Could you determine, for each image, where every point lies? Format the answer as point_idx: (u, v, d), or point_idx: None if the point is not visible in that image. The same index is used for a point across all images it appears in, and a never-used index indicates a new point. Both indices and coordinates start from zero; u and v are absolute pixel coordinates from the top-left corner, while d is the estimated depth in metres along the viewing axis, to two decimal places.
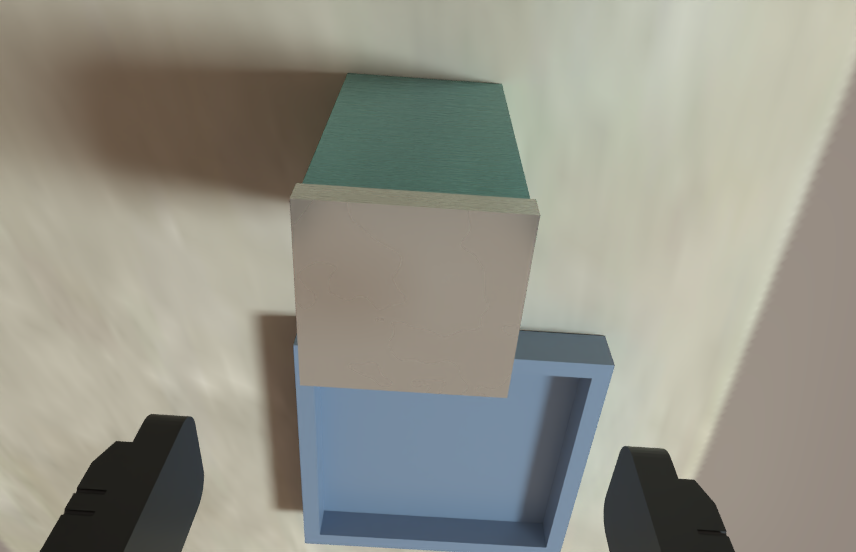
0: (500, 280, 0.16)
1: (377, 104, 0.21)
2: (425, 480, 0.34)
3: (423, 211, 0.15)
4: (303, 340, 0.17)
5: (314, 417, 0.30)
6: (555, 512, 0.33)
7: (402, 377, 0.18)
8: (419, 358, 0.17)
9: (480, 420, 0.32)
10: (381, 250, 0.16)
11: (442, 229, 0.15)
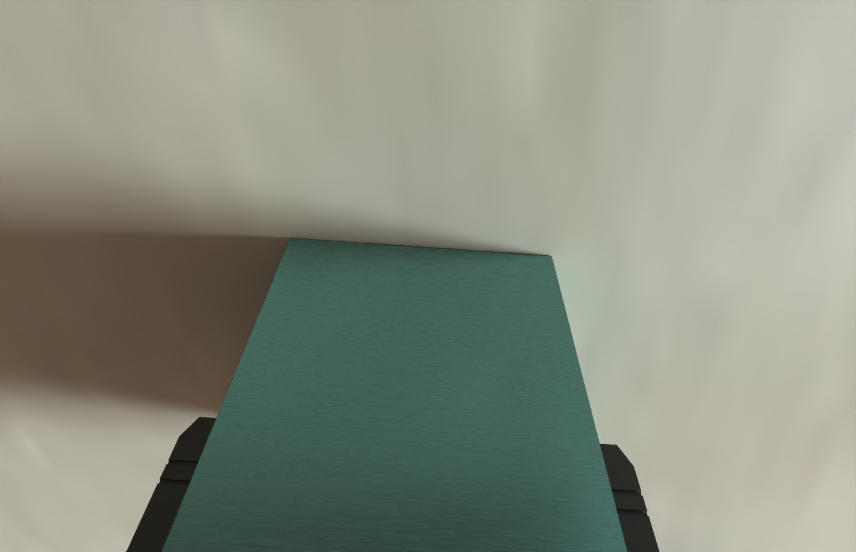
0: None
1: (330, 333, 0.11)
2: None
3: None
4: None
5: None
6: None
7: None
8: None
9: None
10: None
11: None
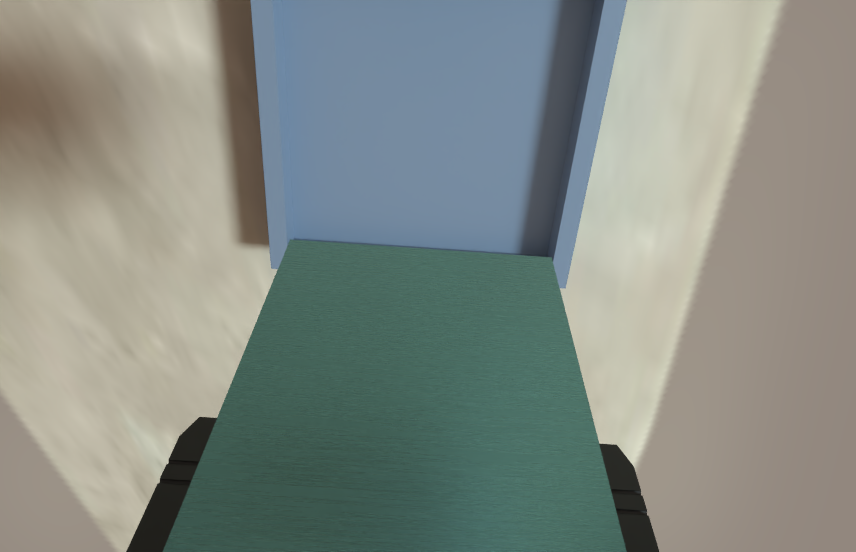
0: None
1: (330, 334, 0.11)
2: (410, 189, 0.30)
3: None
4: None
5: (275, 62, 0.25)
6: (561, 216, 0.29)
7: None
8: None
9: (474, 92, 0.27)
10: None
11: None
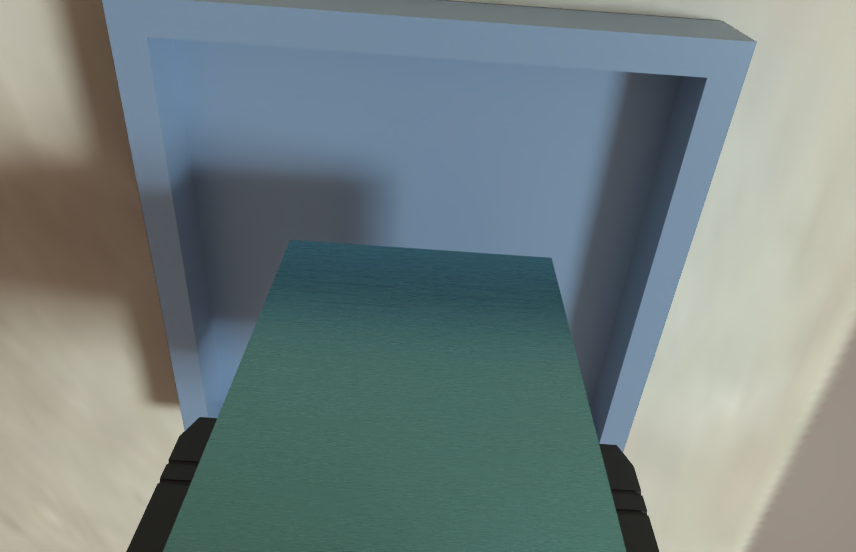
0: None
1: (330, 335, 0.11)
2: None
3: None
4: None
5: (168, 183, 0.16)
6: (614, 391, 0.19)
7: None
8: None
9: (484, 215, 0.18)
10: None
11: None
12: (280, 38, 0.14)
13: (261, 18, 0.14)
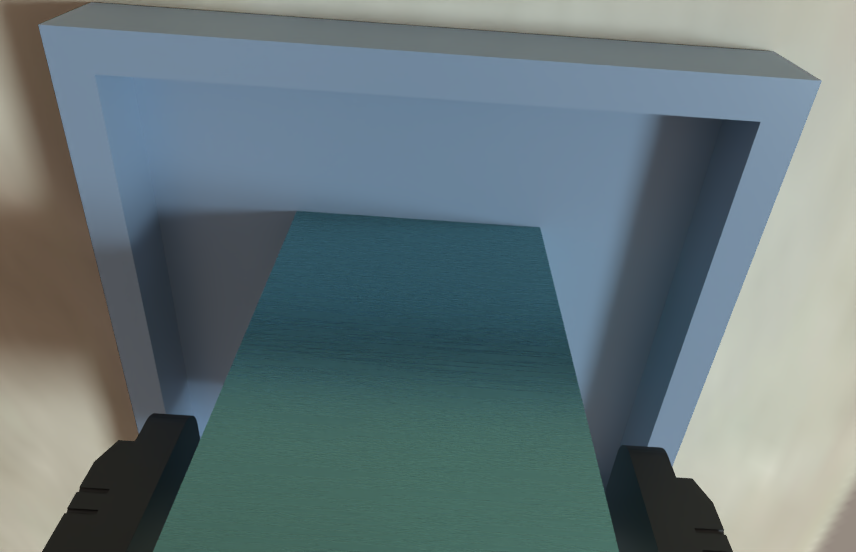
0: None
1: (334, 291, 0.12)
2: None
3: None
4: None
5: (128, 239, 0.14)
6: None
7: None
8: None
9: None
10: None
11: None
12: (253, 76, 0.12)
13: (230, 53, 0.11)
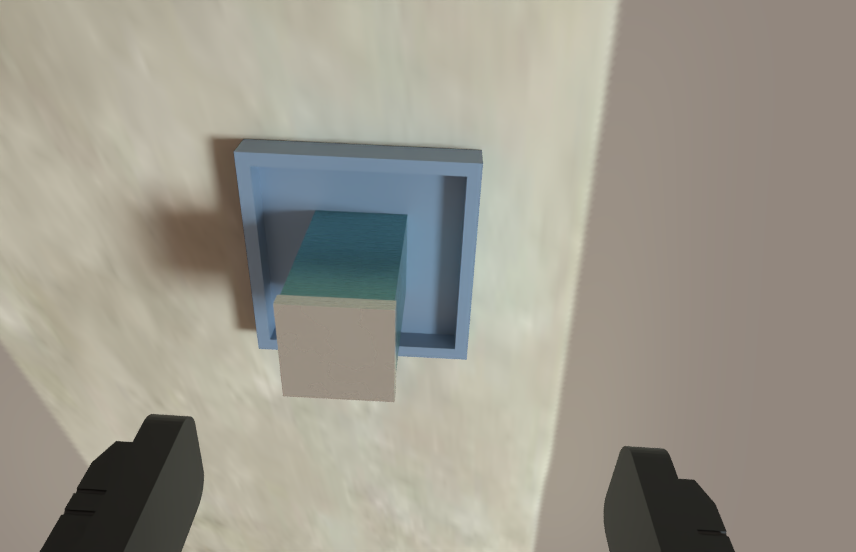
0: (381, 340, 0.32)
1: (328, 235, 0.37)
2: None
3: (338, 309, 0.31)
4: (283, 372, 0.33)
5: (255, 220, 0.38)
6: (457, 312, 0.41)
7: (337, 391, 0.33)
8: (344, 381, 0.33)
9: None
10: (319, 327, 0.31)
11: (348, 317, 0.31)
12: (301, 165, 0.36)
13: (293, 159, 0.36)
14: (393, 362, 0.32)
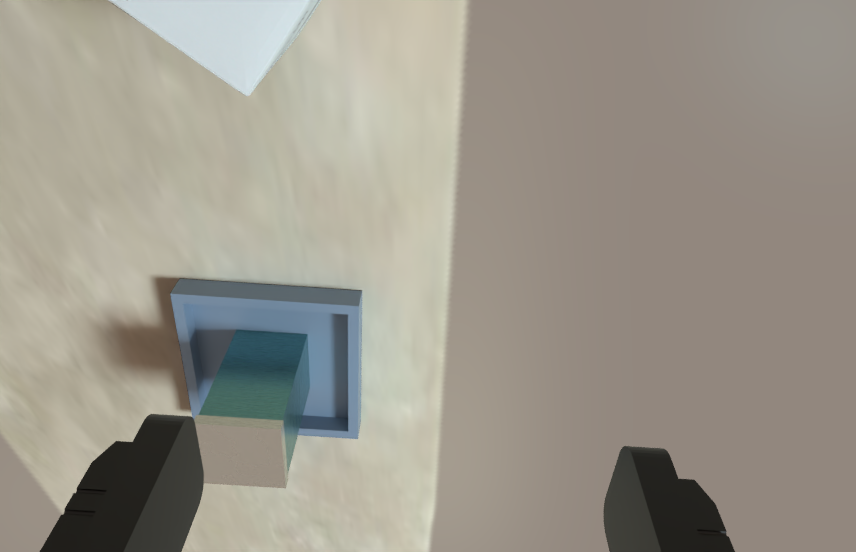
0: (273, 448, 0.44)
1: (243, 356, 0.48)
2: None
3: (239, 427, 0.43)
4: None
5: (188, 340, 0.50)
6: (348, 405, 0.53)
7: (242, 480, 0.45)
8: (248, 473, 0.45)
9: None
10: (227, 439, 0.43)
11: (247, 433, 0.43)
12: (221, 304, 0.48)
13: (216, 299, 0.48)
14: (282, 462, 0.44)
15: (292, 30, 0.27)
